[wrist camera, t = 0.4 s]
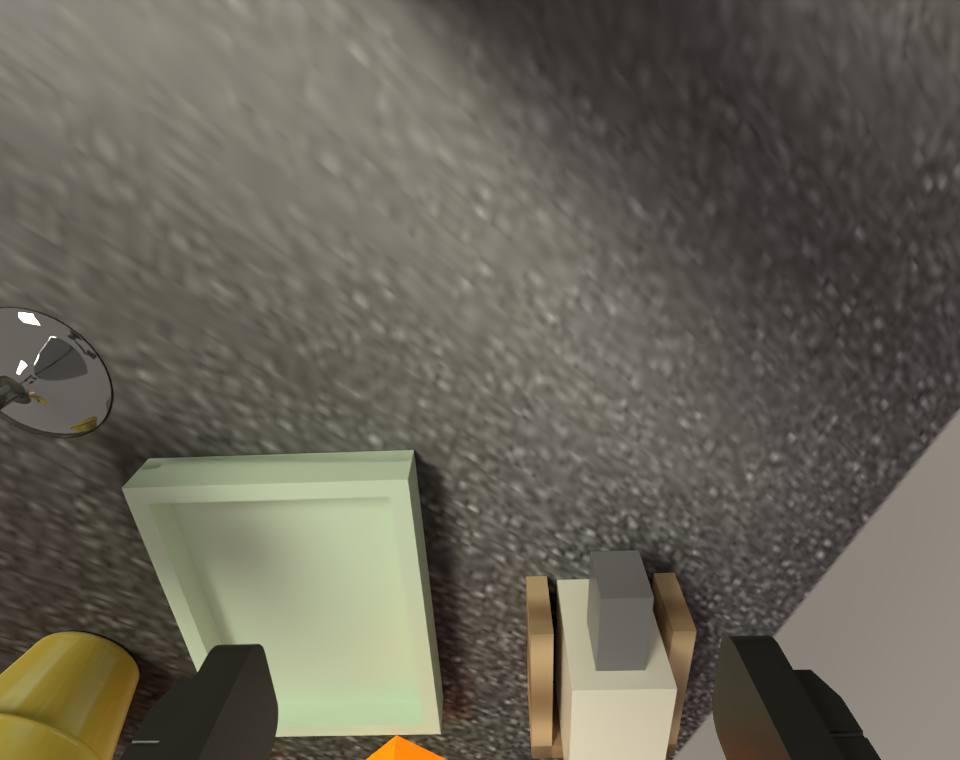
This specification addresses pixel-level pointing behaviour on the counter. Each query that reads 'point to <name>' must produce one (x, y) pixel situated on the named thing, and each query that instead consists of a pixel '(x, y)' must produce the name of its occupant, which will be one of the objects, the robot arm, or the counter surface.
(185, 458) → the tray
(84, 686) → the plant pot
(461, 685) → the counter surface
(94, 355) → the wine glass
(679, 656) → the dock
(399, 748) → the orange juice
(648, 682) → the cream and grey blocks
